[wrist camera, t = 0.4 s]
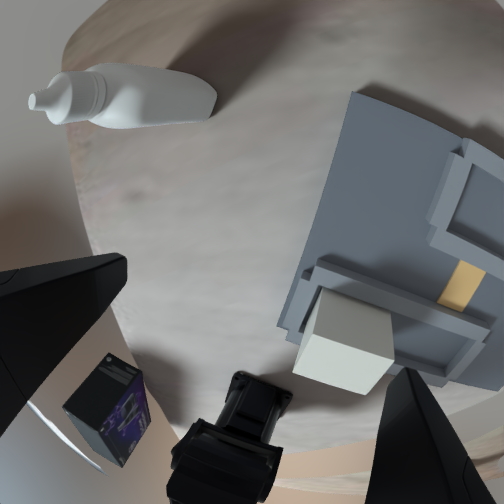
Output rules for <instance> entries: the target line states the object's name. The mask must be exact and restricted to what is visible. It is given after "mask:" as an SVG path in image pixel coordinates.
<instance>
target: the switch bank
mask: <svg viewBox="0 0 504 504" xmlns="http://www.w3.org/2000/svg"><path fill="white" fill-rule="evenodd" d="M323 286H324V287H326V288H329V289H332V290H335V291H337V292H340V293H343V294H346V295H349V296H351V297H354V298H357V299H360V300H363V301H365V302H368V303H371V304H374V305H377V306H379V307H382V308H385V309H388V310H390V314H391V323H392V333H393V344H394V358H395V361H394V362H393V363H392V365H391V366H390V367H389V368H388V370H387V371H386V372H385V373H387V374H391V375H394V376H396V375H397V374H398V373H399V372H400V370H401V369H402V368H404V367H410V368H413V369H416V370H417V371H418V373H419V374H420V376H421V377H422V379H423V380H424V382H425V383H426V384H428V385H432V386H437V387H441V388H442V387H443V386H444V385H445V384H446V383H447V382H448V381H453V382H457V383H461V384H465V385H470V386H474V387H479V388H483V389H488V390H492V391H497V392H498V391H499V390H500V389H501V388H502V387H503V385H504V159H502V158H501V157H499V156H497V155H496V154H494V153H493V152H491V151H490V150H488V149H486V148H485V147H483V146H482V145H480V144H478V143H477V142H475V141H473V140H471V139H469V138H463V139H462V138H460V137H459V136H457V135H455V134H453V133H451V132H449V131H447V130H445V129H443V128H441V127H439V126H437V125H435V124H433V123H431V122H429V121H427V120H425V119H423V118H420V117H418V116H416V115H414V114H411V113H409V112H407V111H404V110H402V109H399V108H397V107H394V106H392V105H389V104H387V103H384V102H382V101H379V100H376V99H373V98H371V97H368V96H365V95H362V94H359V93H356V92H353V91H352V93H351V97H350V101H349V104H348V108H347V112H346V116H345V119H344V123H343V126H342V130H341V134H340V137H339V141H338V144H337V148H336V151H335V154H334V158H333V161H332V164H331V168H330V171H329V174H328V178H327V181H326V184H325V187H324V191H323V194H322V197H321V200H320V203H319V206H318V209H317V212H316V216H315V219H314V222H313V225H312V228H311V231H310V234H309V237H308V240H307V243H306V246H305V248H304V251H303V254H302V257H301V260H300V263H299V266H298V269H297V271H296V274H295V277H294V280H293V283H292V285H291V288H290V291H289V294H288V296H287V299H286V302H285V304H284V307H283V310H282V312H281V315H280V318H279V320H278V323H277V327H280V328H283V329H286V330H288V333H287V336H286V339H285V340H286V341H289V342H292V343H295V344H298V345H301V341H302V338H303V334H304V331H305V327H306V324H307V321H308V319H309V316H310V314H311V312H312V310H313V308H314V305H315V303H316V301H317V299H318V296H319V294H320V292H321V289H322V287H323Z"/></svg>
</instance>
